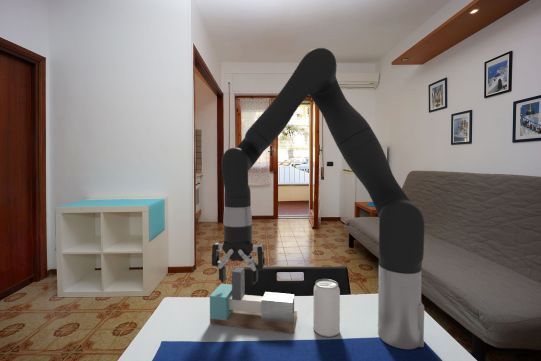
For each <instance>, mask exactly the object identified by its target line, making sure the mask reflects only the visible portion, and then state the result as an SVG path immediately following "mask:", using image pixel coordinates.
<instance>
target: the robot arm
mask: <svg viewBox="0 0 541 361" xmlns="http://www.w3.org/2000/svg"><path fill="white" fill-rule="evenodd" d="M337 66H338V65H337V59H336V57H335V55H334V53H333V52H332V51H331V50H329V49H327V48H325V47H317V48H313V49H311V50H309V51H308V52H307V53H306V54H304V55H303V57H302V59H301V60H300V62H299V63H298V65H297V67H296V68H295V70H294V71H293V73H292V75H291V76H290V78H289V79H288V80H287V82H286V83H285V84H284V86H282V88H281V90H280V92H279V93H278V94H277V95H276V97H275V98H274V99H273V100H272V102H271V103H270V104H269V106H267V108H266V109H265V110H264V111H263V112H262V114H260V115H259V116H258V118H257V119H256V120H255V121H254V122H253V123H252V125H251V126H250V127H249V128H248V130H246V132H245V134H244V137H243V139H242V140H241V142H240V143H239V144H238V145H237V146H236V147H231V148H228V149H227V150H225V152H224V153H223V154H222V157H221V162H220V163H221V164H220V165H221V168H220V169H221V176H222V183H223V188H224V195H223V196H224V198H223V199H224V204H223V205H224V209H223V221H222V222H223V243H220V242H219V241H217V242H215V243H214V244H212V246H211V247H212V248H211V266H213V267H216V268H218V279H219V281H220V283H225V281H226V280H227V266H226V264H227V263H228V261H229V260H230V261H231V262H235V261H238V262H245V263H246V265H248V266H249V267H250V269H251V271H250V273H251V274H250V275H251V276H250V278H251V279H250V280H251V281H250V282H251V283H250V284H251V285H255V284H256V283H257V282H258V280H259V270H263V268H264V266H265V264H266V262H265V246H264V244H263V243H260V244H258V245H255V244H253V227H252V225H253V223H252V221H253V219H252V218H253V216H252V206H251V205H252V204H251V203H252V200H251V198H252V197H251V195H252V194H251V193H252V192H251V188H250V185H249V170H251V168H252V167H253V166H254V165H255V164H256V162H257V161H258V160H259V159H260V157H261V155H262V154H263V153H264V152H265V151H266V150H267V149H268V148H269V147H270V146H271V145H272V143H273V142H275V140H276V139H277V138H278V137H279V136H280V135H281V133H283V131H284V130H285V129H286V127H287V125H288V124H289V122H290V121H291V120H292V117H293V116H294V114H295V113H296V111H297V109H298V108H299V107H300V105H301V104H302V103H303V102H304V100H306V99H307V97H308V96H309V97H310V98H311V99H312V101H313V102H314V104H315V105H316V107H317V109H318V110H319V111H320V113H321V114H322V116H323V118H324V121H325V124H326V125H327V128H328V130H329V132H330V135H331V136H332V139H333V140H334V142H335V144H336V147H337V148H338V151H339V152H340V153H341V156H342V158H343V159H344V161H345V163H346V164H347V165H348V167H349V168H350V170H351V171H352V173H353V174H354V175H355V177H356V178H357V179H358V180H359V181H360V183H361V184H362V185H363V187H364V188H365V189H366V191H367V193H368V195H369V197H370V199H371V201H372V203H373V206H374V208H375V211H376V214H377V216H378V220H379V222H378V223H379V224H378V226H379V227H378V235H379V236H378V289H377V290H378V296H377V297H378V299H377V301H378V305H377V310H378V311H377V335H378V337H379V338H380V340H382V341H383V342H384V343H386V344H387V345H389V346H391V347H393V348H397V349H402V350H414V349H417V348H424V345H425V344H424V342H425V341H424V339H425V337H424V336H425V335H424V334H425V330H424V329H425V305H424V304H423V303H422V271H423V270H422V267H423V260H424V256H425V255H424V251H425V250H424V249H425V247H424V246H425V218H424V216H423V214H422V211H421V210H420V209H419V207H417V205H415V204H414V203H413V202H412V201H411V200H410V198H409V197H408V196H407V194H406V193H405V191H404V190H403V189H402V187H401V186H400V184H399V183H398V181H397V179H396V178H395V176H394V174H393V171H392V170H391V166H390V164H389V161H388V159H387V156H386V153H385V151H384V149H383V147H382V145H381V143H380V141H379V139H378V137H377V135H376V134H375V133H374V131H373V129H372V127H371V126H370V124H369V123H368V121H367V120H366V119H365V117H364V116H362V114H361V113H360V112H358V110H357V109H355V107H354V106H352V105H351V103H349V101H348V100H347V98H346V97H345V95H344V92H343V91H342V89H341V87H340V84H339V82H338V79H337V77H336V76H337ZM222 250H223V252H224V253H225V255H224V257H222V259H221V260H220V252H221V251H222ZM253 251H254V252H255V254H256V255H257V261H256V259H255V257H254V256H253V255H252V252H253Z"/></svg>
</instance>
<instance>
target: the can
mask: <svg viewBox="0 0 541 361" xmlns="http://www.w3.org/2000/svg"><path fill="white" fill-rule="evenodd" d="M340 296H341V291H340V287H339V283H338V282H337V281H335V280H333V279H329V278H321V279H317V280H316V281H315V285H314V286H313V330H314V331H315V333H316V334H317V335H319V336H321V337H324V338H325V337H326V338H333V337H336V336H337V335H338V334H339V333H340V327H341V326H340V324H341V322H340V321H341V319H340V318H341V314H340V313H341V309H340V308H341V298H340Z"/></svg>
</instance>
